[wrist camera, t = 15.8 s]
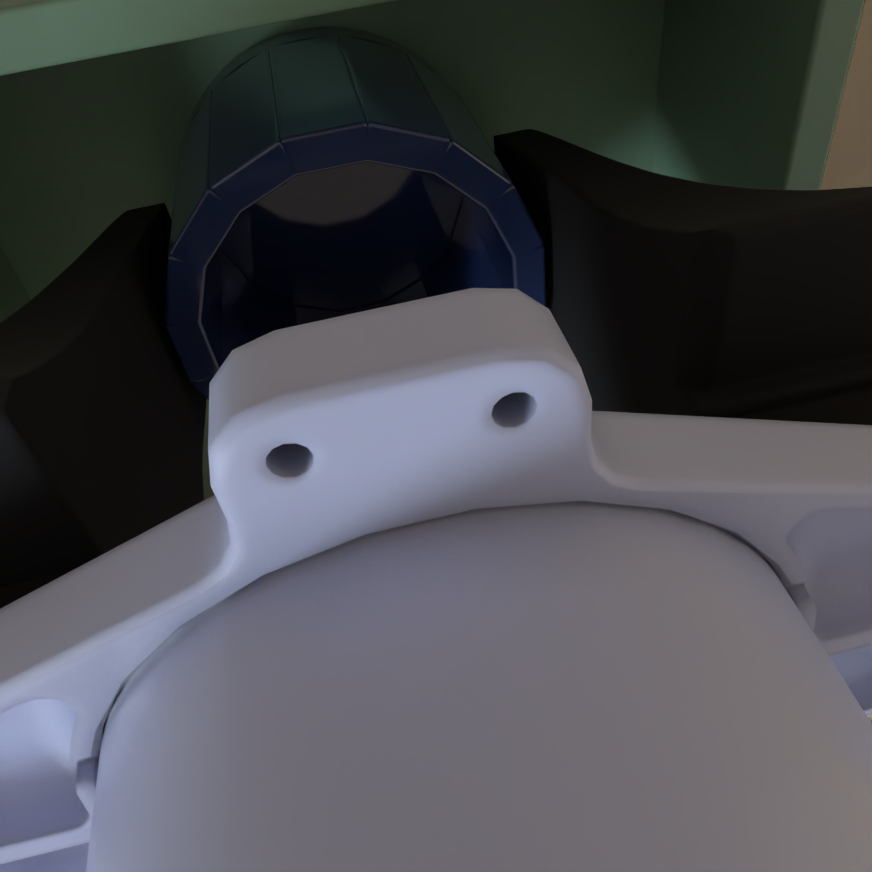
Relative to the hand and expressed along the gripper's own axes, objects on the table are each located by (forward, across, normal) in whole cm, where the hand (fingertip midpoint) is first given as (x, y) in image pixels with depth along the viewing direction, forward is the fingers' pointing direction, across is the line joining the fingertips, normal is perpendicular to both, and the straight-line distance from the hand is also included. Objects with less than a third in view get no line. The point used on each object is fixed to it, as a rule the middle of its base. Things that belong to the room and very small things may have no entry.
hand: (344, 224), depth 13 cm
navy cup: (+1, 0, 0) cm, 1 cm away
